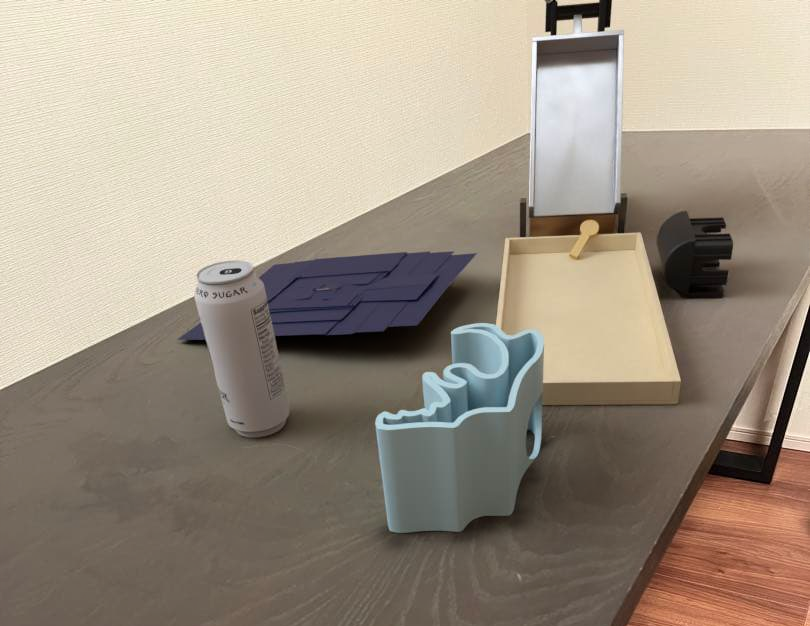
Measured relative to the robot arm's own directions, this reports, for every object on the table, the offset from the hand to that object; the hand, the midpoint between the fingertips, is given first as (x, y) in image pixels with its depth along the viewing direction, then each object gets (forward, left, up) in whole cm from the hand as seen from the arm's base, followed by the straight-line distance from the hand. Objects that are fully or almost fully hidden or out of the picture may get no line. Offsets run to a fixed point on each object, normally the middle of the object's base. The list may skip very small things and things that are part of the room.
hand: (576, 35), depth 100 cm
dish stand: (0, +4, -23) cm, 23 cm away
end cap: (-13, +26, -23) cm, 37 cm away
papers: (+28, +31, -23) cm, 48 cm away
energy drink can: (+30, +57, -23) cm, 69 cm away
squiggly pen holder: (+9, +65, -23) cm, 70 cm away
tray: (0, +34, -23) cm, 41 cm away
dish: (0, +5, -8) cm, 10 cm away
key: (-2, +15, -20) cm, 25 cm away
